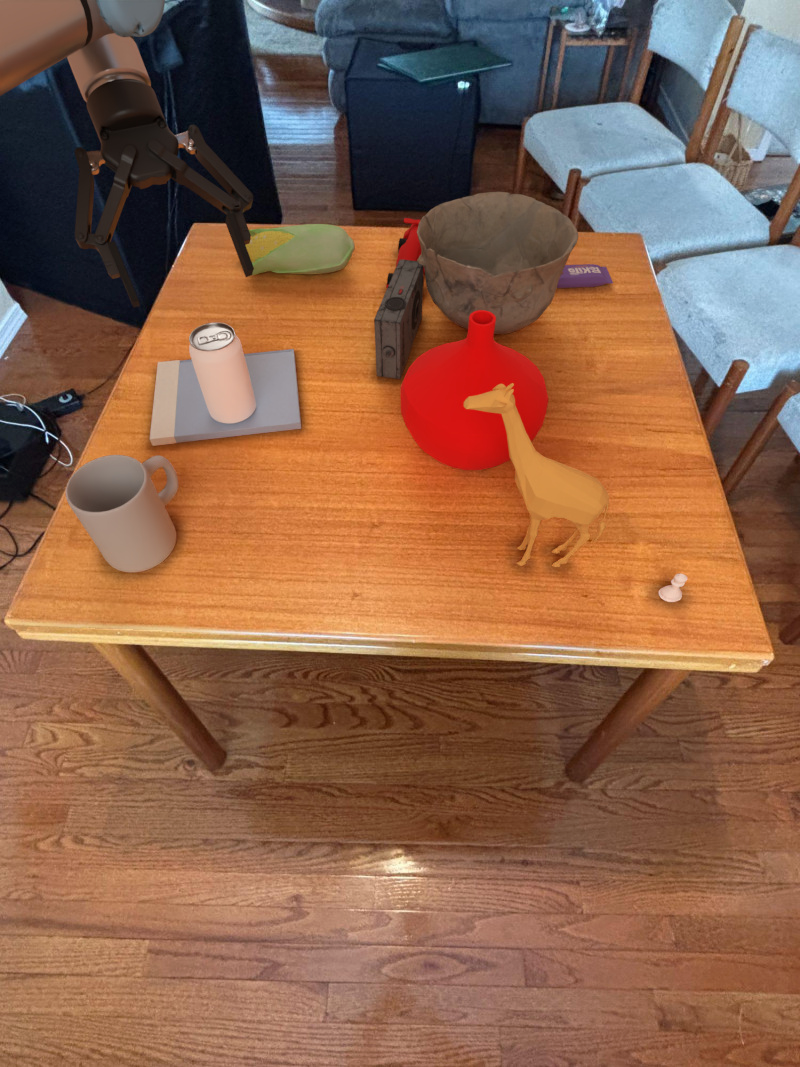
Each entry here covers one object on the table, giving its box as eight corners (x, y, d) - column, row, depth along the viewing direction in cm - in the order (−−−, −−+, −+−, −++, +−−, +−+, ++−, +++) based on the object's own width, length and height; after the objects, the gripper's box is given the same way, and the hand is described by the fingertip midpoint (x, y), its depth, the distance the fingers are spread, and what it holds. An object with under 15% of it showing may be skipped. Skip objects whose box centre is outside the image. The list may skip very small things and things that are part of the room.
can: (261, 419, 86) (243, 345, 77) (214, 430, 85) (189, 357, 75) (251, 389, 90) (233, 315, 80) (205, 400, 89) (181, 326, 79)
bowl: (390, 314, 102) (389, 222, 90) (486, 265, 111) (496, 175, 98) (488, 383, 92) (501, 290, 80) (585, 323, 101) (610, 231, 89)
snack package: (607, 261, 108) (615, 278, 105) (604, 271, 109) (611, 288, 106) (540, 263, 107) (545, 280, 104) (538, 273, 109) (543, 291, 106)
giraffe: (448, 564, 74) (463, 399, 53) (450, 533, 76) (467, 366, 56) (591, 578, 72) (663, 415, 52) (589, 547, 75) (657, 380, 55)
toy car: (384, 301, 104) (383, 273, 100) (402, 244, 115) (402, 216, 111) (419, 304, 104) (420, 276, 100) (434, 247, 114) (435, 219, 110)
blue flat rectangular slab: (152, 446, 85) (149, 439, 84) (160, 368, 95) (157, 361, 94) (301, 429, 87) (300, 422, 86) (294, 355, 96) (293, 348, 95)
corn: (352, 261, 102) (229, 264, 103) (357, 283, 111) (243, 285, 111) (352, 211, 103) (229, 214, 103) (356, 236, 111) (243, 239, 111)
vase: (372, 451, 84) (365, 328, 69) (450, 378, 93) (460, 254, 78) (489, 516, 78) (510, 396, 62) (561, 431, 86) (596, 308, 71)
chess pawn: (678, 587, 72) (691, 567, 68) (683, 602, 70) (697, 583, 67) (655, 587, 72) (667, 568, 68) (660, 603, 70) (672, 584, 67)
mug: (139, 585, 72) (102, 527, 63) (88, 552, 75) (46, 492, 66) (212, 515, 78) (187, 453, 69) (162, 487, 81) (132, 424, 72)
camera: (400, 385, 92) (399, 326, 84) (374, 381, 93) (371, 322, 85) (423, 318, 102) (424, 260, 94) (399, 315, 102) (398, 256, 94)
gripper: (226, 94, 77) (289, 270, 81) (8, 135, 70) (89, 325, 74) (230, 55, 70) (299, 250, 74) (-11, 97, 63) (79, 309, 67)
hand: (194, 288), depth 74 cm, fingers open, 13 cm apart
